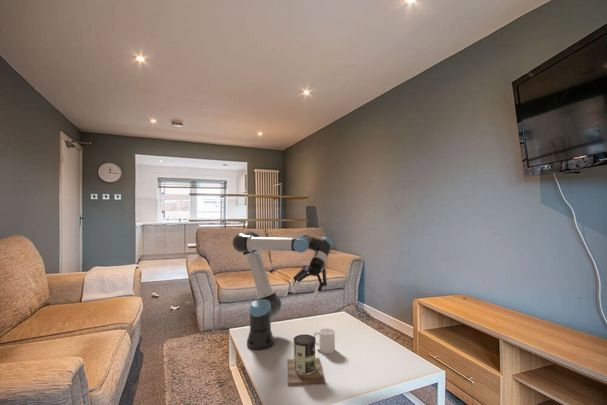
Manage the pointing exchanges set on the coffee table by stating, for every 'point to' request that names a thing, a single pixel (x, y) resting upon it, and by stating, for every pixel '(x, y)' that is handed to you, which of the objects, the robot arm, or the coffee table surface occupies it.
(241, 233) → the robot arm
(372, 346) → the coffee table surface
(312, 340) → the coffee can
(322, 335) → the cup
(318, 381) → the walnut board
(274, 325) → the coffee table surface
